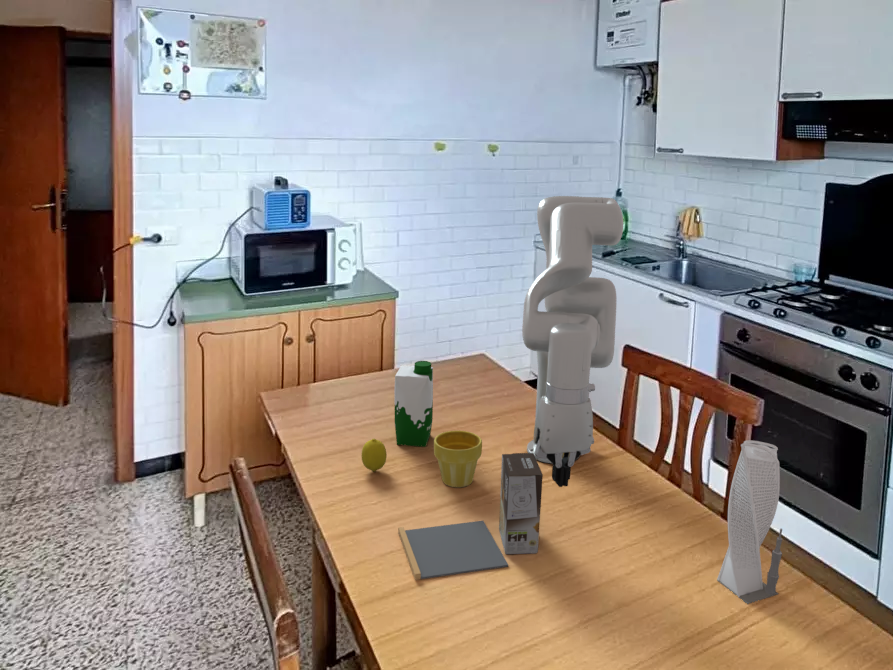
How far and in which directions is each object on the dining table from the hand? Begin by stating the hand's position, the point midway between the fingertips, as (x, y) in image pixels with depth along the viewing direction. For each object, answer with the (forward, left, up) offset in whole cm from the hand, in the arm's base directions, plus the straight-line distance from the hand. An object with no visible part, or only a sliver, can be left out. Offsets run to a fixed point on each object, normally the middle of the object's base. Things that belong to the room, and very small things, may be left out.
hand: (560, 483), depth 137 cm
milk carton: (+18, -47, -11) cm, 52 cm away
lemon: (+30, -33, -11) cm, 46 cm away
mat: (+20, 0, -11) cm, 23 cm away
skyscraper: (-25, +22, -12) cm, 35 cm away
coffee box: (+8, 0, -11) cm, 14 cm away
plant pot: (+13, -25, -11) cm, 30 cm away
